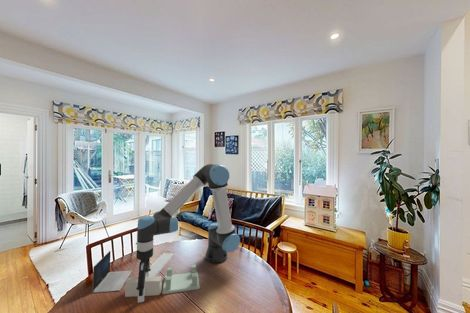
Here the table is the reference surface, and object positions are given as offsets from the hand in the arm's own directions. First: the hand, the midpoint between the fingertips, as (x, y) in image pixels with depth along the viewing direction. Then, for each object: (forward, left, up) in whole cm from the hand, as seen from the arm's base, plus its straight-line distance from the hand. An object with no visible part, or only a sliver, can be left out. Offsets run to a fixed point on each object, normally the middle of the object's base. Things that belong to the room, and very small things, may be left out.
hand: (143, 292), depth 99 cm
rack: (-18, -4, 0) cm, 19 cm away
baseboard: (-3, -26, -1) cm, 26 cm away
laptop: (+17, -14, -1) cm, 22 cm away
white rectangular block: (0, 0, 0) cm, 0 cm away
